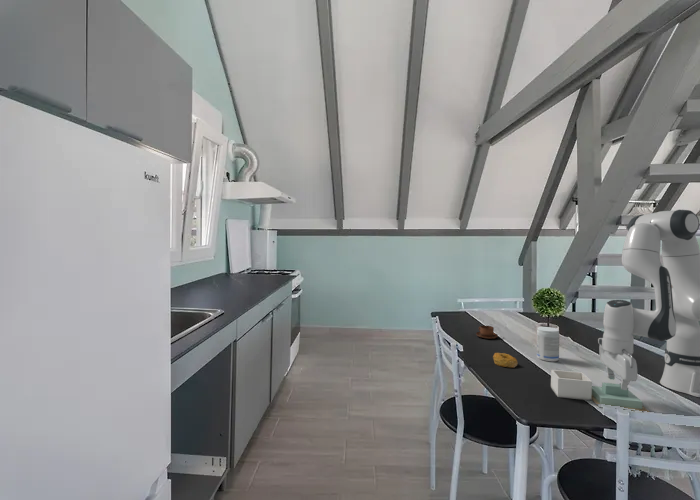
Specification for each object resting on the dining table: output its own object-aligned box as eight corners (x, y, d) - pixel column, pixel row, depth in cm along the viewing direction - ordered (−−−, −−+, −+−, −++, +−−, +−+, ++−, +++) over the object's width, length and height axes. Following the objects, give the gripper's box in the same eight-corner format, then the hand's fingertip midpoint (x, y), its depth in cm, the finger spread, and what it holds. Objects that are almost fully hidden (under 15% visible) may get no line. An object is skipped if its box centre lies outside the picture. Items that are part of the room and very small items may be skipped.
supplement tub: (562, 359, 175) (563, 329, 174) (552, 363, 170) (553, 332, 169) (542, 354, 183) (543, 325, 183) (532, 357, 178) (533, 328, 177)
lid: (627, 395, 135) (627, 381, 134) (642, 408, 125) (642, 393, 124) (589, 392, 138) (590, 377, 138) (601, 404, 128) (601, 389, 127)
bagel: (507, 370, 162) (507, 359, 161) (488, 362, 172) (488, 352, 171) (522, 366, 166) (523, 356, 166) (503, 359, 176) (503, 349, 176)
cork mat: (629, 395, 136) (629, 394, 136) (649, 413, 122) (649, 411, 122) (584, 390, 140) (584, 389, 140) (599, 407, 126) (599, 406, 126)
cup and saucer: (472, 337, 213) (472, 327, 213) (481, 333, 222) (481, 323, 222) (493, 341, 205) (493, 330, 205) (500, 337, 214) (501, 327, 214)
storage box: (582, 390, 140) (582, 372, 140) (591, 400, 132) (591, 381, 131) (550, 387, 143) (551, 369, 143) (557, 396, 134) (558, 378, 134)
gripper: (644, 355, 119) (643, 397, 120) (614, 338, 139) (614, 374, 140) (621, 354, 121) (621, 395, 121) (596, 337, 141) (595, 372, 141)
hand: (617, 383), depth 131 cm, fingers open, 8 cm apart
